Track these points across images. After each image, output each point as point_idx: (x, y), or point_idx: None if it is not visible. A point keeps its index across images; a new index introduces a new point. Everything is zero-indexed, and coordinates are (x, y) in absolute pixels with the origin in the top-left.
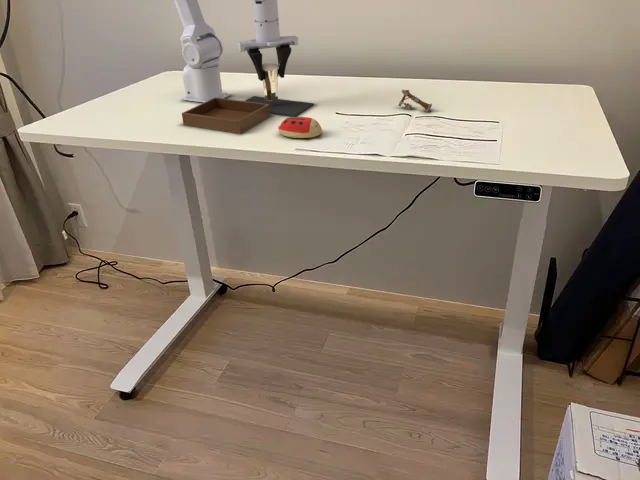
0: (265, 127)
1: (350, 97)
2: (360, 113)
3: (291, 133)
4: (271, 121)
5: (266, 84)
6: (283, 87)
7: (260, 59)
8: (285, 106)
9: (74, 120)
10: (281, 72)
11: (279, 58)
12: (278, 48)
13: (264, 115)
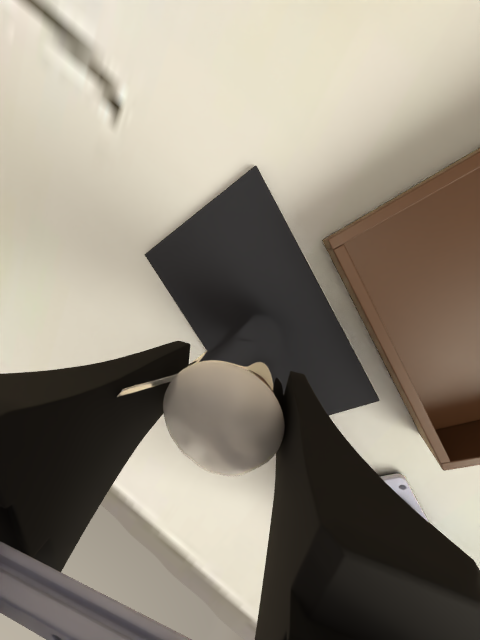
0: (437, 101)
1: (39, 248)
2: (48, 52)
3: None
4: (360, 172)
5: (277, 354)
6: (160, 438)
7: (326, 474)
8: (233, 287)
9: None
10: (175, 355)
11: (118, 437)
12: (38, 530)
13: (372, 211)
